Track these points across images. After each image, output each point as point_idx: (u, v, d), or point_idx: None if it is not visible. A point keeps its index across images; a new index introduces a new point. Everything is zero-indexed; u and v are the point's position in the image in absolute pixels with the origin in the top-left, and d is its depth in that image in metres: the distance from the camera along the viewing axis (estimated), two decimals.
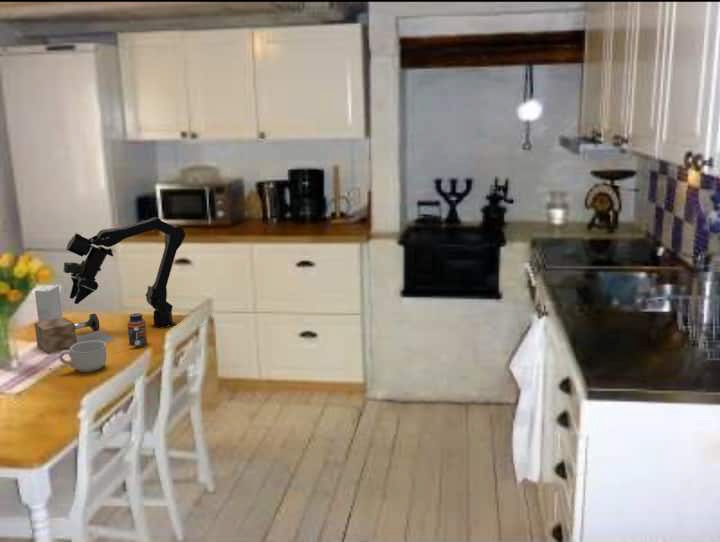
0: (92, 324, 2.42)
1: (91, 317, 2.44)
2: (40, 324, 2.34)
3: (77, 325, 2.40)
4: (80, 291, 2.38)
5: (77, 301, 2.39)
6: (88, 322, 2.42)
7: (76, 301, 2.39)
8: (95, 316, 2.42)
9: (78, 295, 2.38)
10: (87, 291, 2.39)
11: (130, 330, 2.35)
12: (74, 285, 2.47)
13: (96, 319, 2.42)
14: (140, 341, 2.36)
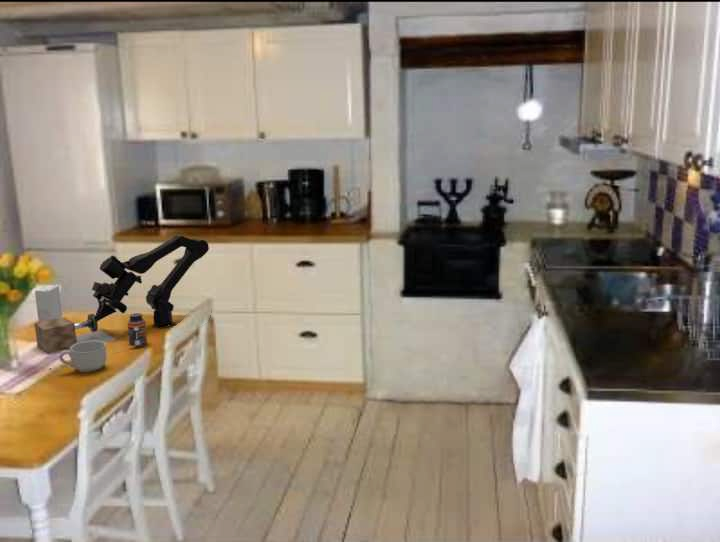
0: (90, 324, 2.42)
1: (89, 317, 2.43)
2: (40, 324, 2.34)
3: (75, 325, 2.39)
4: (103, 309, 2.44)
5: (98, 319, 2.44)
6: (86, 322, 2.42)
7: None
8: (93, 316, 2.42)
9: (100, 313, 2.44)
10: (109, 310, 2.45)
11: (130, 330, 2.35)
12: (100, 308, 2.45)
13: (94, 319, 2.41)
14: (140, 341, 2.36)
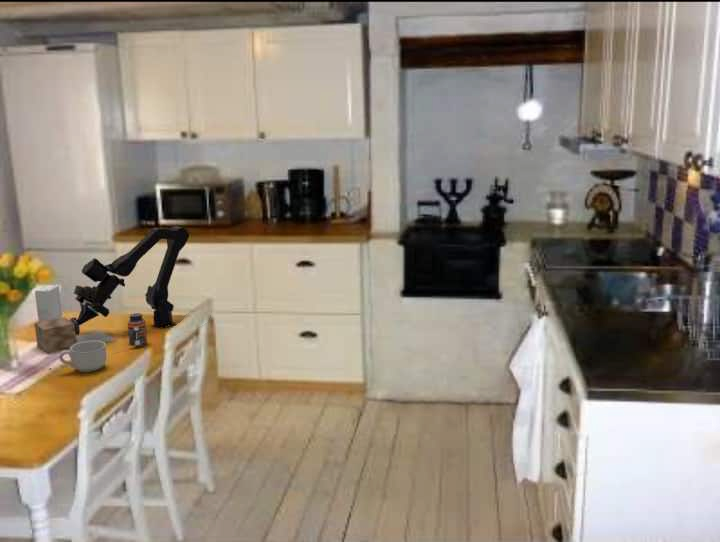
0: None
1: (71, 321, 2.40)
2: (40, 324, 2.34)
3: None
4: (85, 313, 2.40)
5: (80, 323, 2.40)
6: None
7: None
8: (75, 320, 2.38)
9: (82, 317, 2.40)
10: (91, 314, 2.41)
11: (130, 330, 2.35)
12: None
13: (76, 323, 2.37)
14: (140, 341, 2.36)
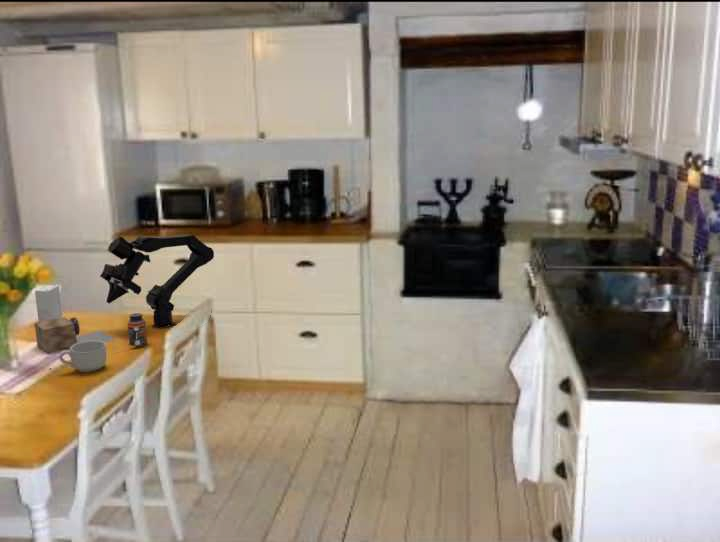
0: None
1: (71, 321, 2.39)
2: (40, 324, 2.34)
3: None
4: (115, 291, 2.45)
5: (111, 300, 2.45)
6: None
7: (109, 300, 2.45)
8: (75, 320, 2.38)
9: (113, 295, 2.45)
10: (121, 292, 2.47)
11: (130, 330, 2.35)
12: (112, 289, 2.46)
13: (76, 323, 2.37)
14: (140, 341, 2.36)
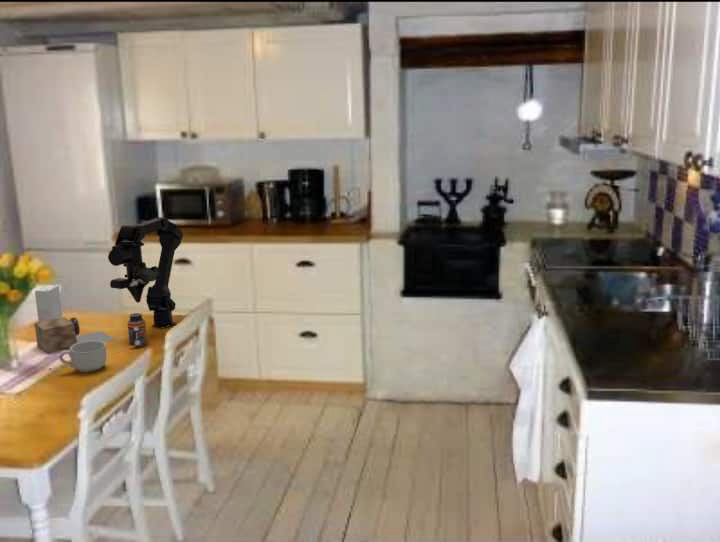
0: None
1: (71, 321, 2.39)
2: (40, 324, 2.34)
3: None
4: None
5: None
6: None
7: None
8: (75, 320, 2.38)
9: None
10: None
11: (130, 330, 2.35)
12: None
13: (76, 323, 2.37)
14: (140, 341, 2.36)
